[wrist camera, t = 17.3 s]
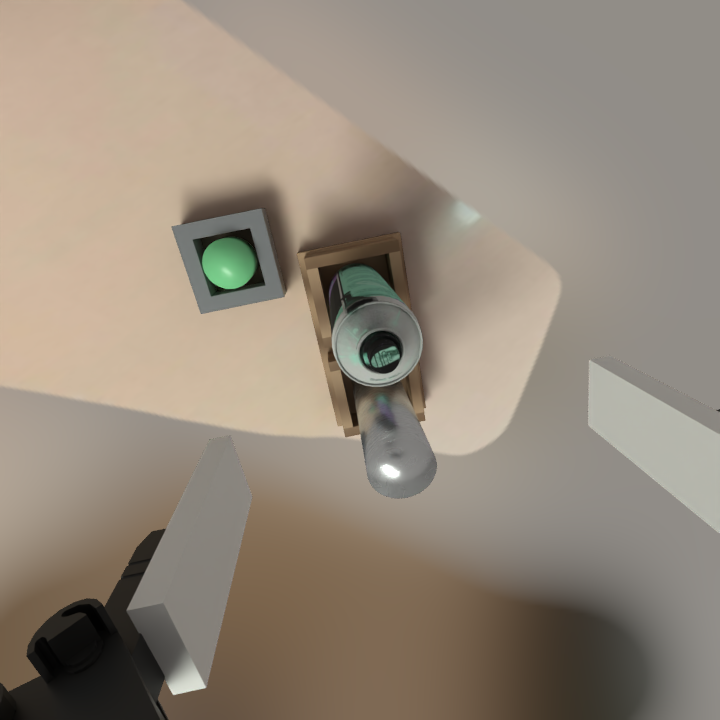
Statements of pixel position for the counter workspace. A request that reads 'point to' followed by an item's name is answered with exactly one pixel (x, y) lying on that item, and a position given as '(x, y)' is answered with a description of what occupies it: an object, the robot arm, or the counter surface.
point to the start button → (230, 262)
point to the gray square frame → (194, 251)
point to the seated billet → (393, 441)
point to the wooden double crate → (317, 277)
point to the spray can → (371, 328)
